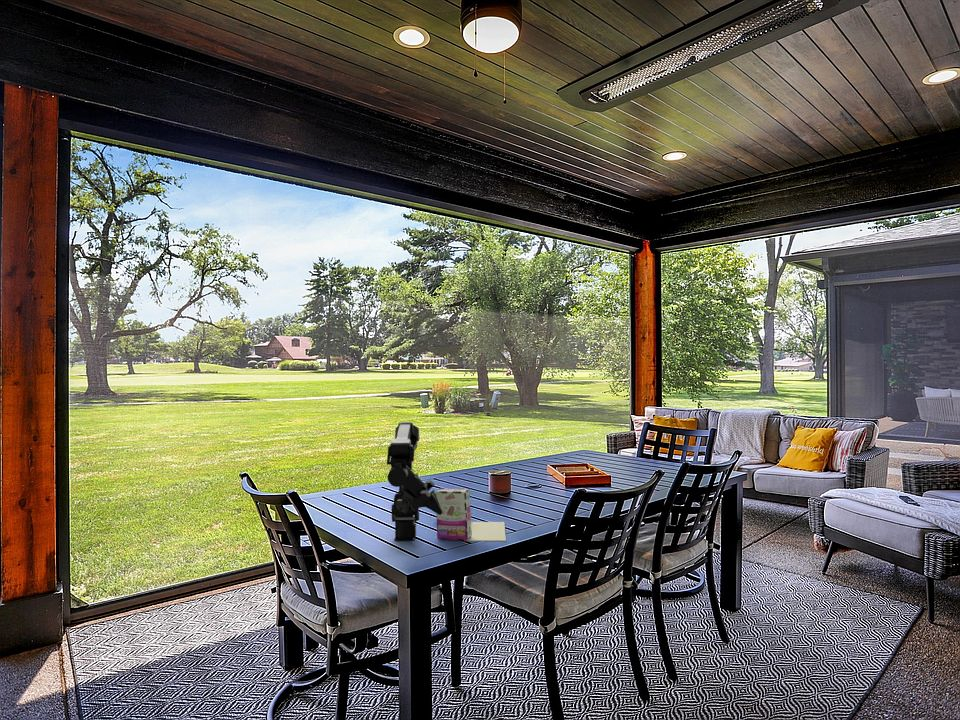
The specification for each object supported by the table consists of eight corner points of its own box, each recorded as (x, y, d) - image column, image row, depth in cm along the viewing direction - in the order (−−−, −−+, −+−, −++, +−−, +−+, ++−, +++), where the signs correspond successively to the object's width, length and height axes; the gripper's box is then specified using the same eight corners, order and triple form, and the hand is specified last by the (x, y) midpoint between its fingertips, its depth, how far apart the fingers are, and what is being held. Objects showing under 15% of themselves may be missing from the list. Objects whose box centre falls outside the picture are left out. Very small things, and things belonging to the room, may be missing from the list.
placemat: (464, 541, 192) (464, 540, 192) (467, 522, 214) (467, 521, 214) (505, 541, 192) (505, 540, 192) (504, 522, 214) (504, 521, 214)
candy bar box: (472, 536, 196) (470, 488, 196) (467, 541, 191) (466, 492, 191) (441, 534, 199) (440, 487, 199) (436, 539, 194) (434, 490, 194)
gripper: (394, 489, 191) (427, 523, 190) (383, 504, 172) (419, 541, 172) (417, 466, 190) (450, 499, 190) (409, 478, 172) (446, 515, 172)
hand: (441, 513), depth 181 cm, fingers closed
